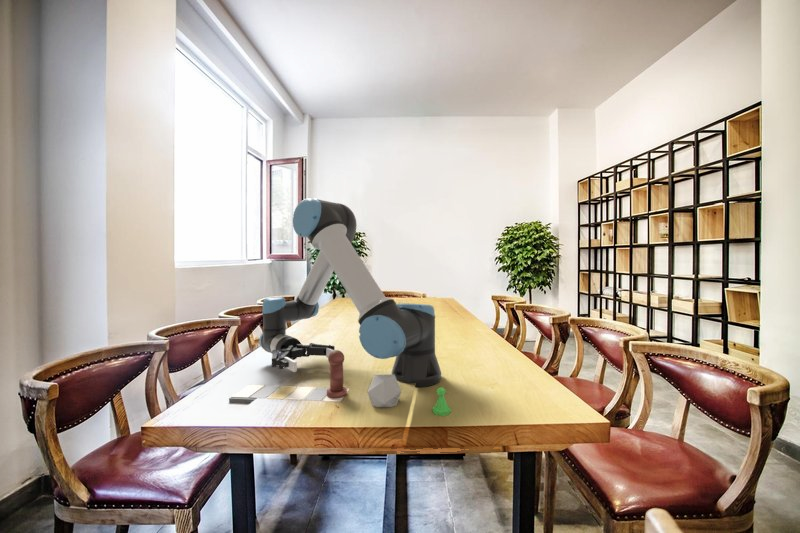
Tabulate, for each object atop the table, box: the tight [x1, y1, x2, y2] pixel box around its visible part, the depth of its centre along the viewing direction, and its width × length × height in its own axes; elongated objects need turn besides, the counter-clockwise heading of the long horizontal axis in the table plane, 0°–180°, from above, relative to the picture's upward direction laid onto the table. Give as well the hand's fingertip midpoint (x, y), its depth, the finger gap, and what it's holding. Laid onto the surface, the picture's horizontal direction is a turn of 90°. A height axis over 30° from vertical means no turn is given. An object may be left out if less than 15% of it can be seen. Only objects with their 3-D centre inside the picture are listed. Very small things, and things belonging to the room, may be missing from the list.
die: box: [367, 374, 402, 408], centre depth 85 cm, size 8×9×10 cm
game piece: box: [431, 386, 451, 416], centre depth 82 cm, size 4×4×6 cm
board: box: [228, 383, 350, 404], centre depth 92 cm, size 30×10×1 cm, turn 82°
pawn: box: [326, 349, 348, 398], centre depth 90 cm, size 5×5×12 cm
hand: (318, 361), depth 97 cm, fingers open, 13 cm apart
